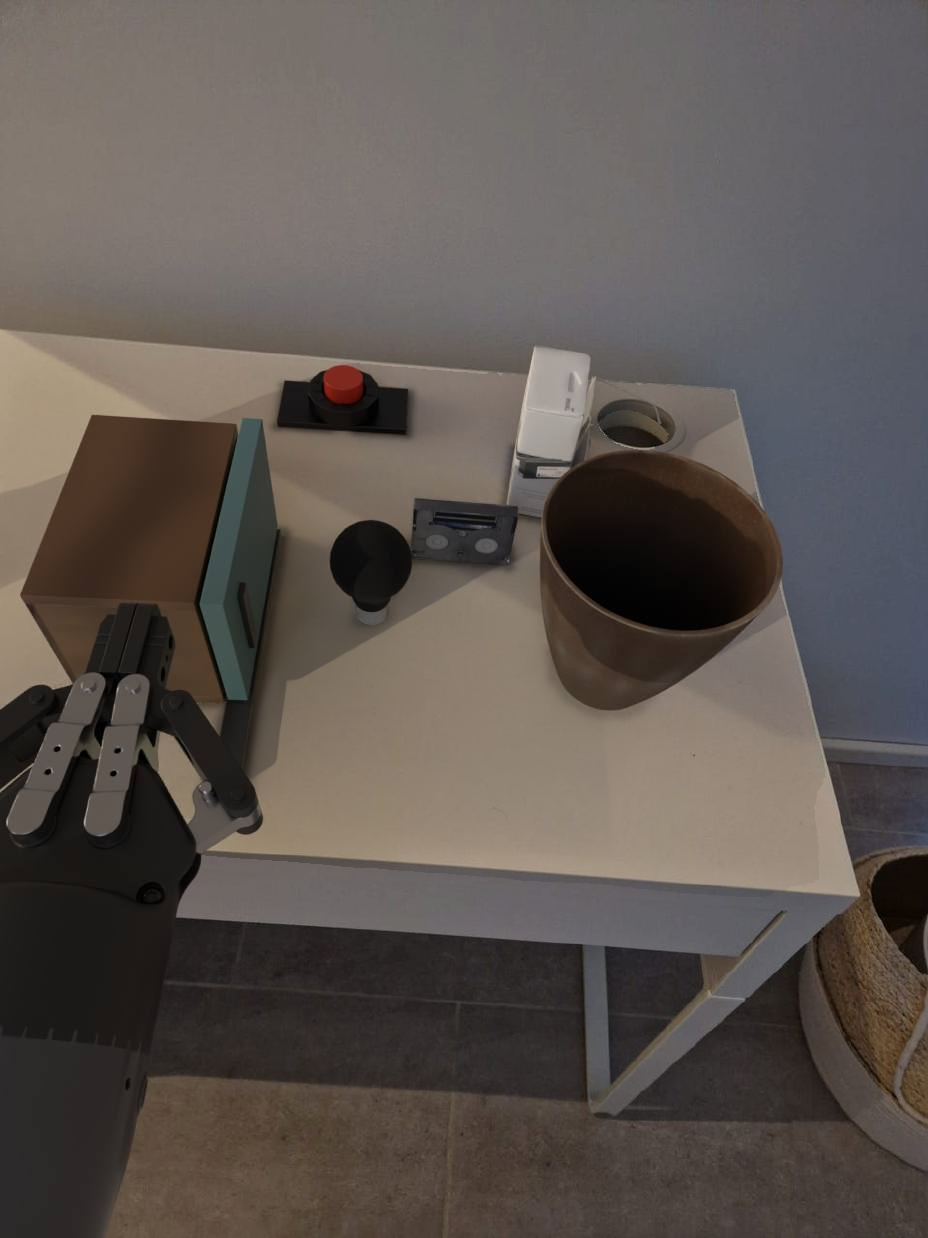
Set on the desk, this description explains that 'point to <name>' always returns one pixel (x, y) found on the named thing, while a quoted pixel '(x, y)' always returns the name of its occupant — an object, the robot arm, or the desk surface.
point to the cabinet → (142, 548)
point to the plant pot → (649, 572)
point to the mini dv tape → (463, 531)
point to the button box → (343, 408)
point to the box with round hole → (586, 440)
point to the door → (241, 562)
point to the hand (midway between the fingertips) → (143, 614)
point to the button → (343, 384)
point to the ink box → (548, 426)
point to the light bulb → (371, 566)
